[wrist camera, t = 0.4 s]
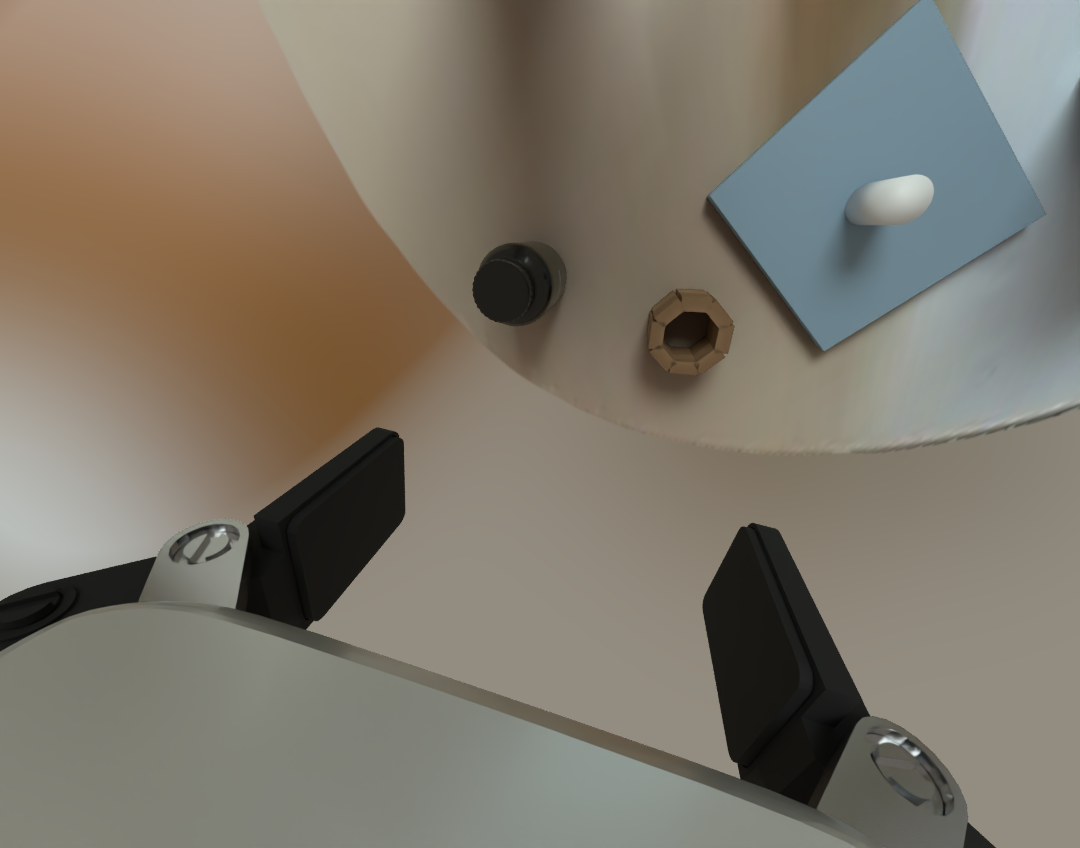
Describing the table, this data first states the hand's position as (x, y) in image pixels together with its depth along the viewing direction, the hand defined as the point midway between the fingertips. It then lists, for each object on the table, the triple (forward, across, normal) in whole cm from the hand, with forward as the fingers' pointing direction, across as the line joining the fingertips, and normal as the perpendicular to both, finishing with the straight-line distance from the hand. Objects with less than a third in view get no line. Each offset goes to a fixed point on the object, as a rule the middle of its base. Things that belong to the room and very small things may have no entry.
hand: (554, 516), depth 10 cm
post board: (+33, -18, -12) cm, 40 cm away
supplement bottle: (+33, +9, -2) cm, 35 cm away
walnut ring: (+33, -7, 0) cm, 34 cm away
